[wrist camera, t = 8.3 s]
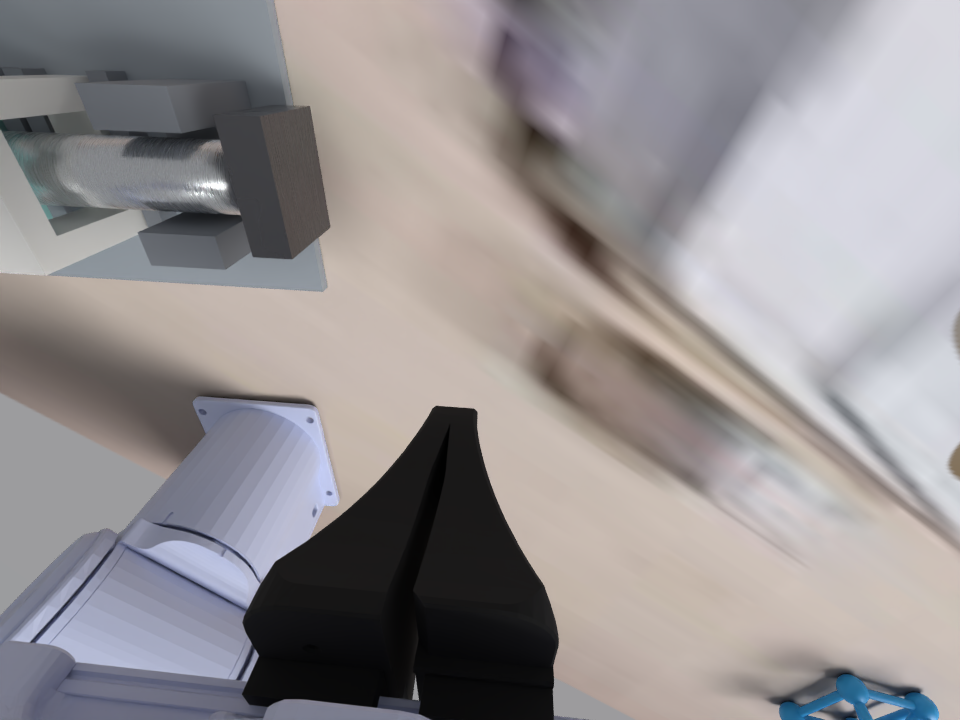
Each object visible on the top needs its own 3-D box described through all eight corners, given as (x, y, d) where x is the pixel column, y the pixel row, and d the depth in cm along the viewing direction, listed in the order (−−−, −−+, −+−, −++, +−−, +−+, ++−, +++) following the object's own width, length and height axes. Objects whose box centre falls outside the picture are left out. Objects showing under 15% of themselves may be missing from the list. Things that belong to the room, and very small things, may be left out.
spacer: (159, 225, 21) (46, 275, 16) (119, 223, 21) (-5, 272, 16) (101, 76, 18) (-65, 81, 13) (53, 74, 18) (-130, 79, 13)
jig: (327, 286, 23) (281, 338, 18) (-31, 265, 24) (-153, 309, 20) (270, -16, 16) (177, -45, 12) (-227, -26, 17) (-479, -56, 13)
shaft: (330, 227, 19) (292, 259, 16) (-1, 210, 20) (-98, 237, 17) (309, 106, 17) (259, 116, 13) (-70, 92, 17) (-200, 99, 14)
